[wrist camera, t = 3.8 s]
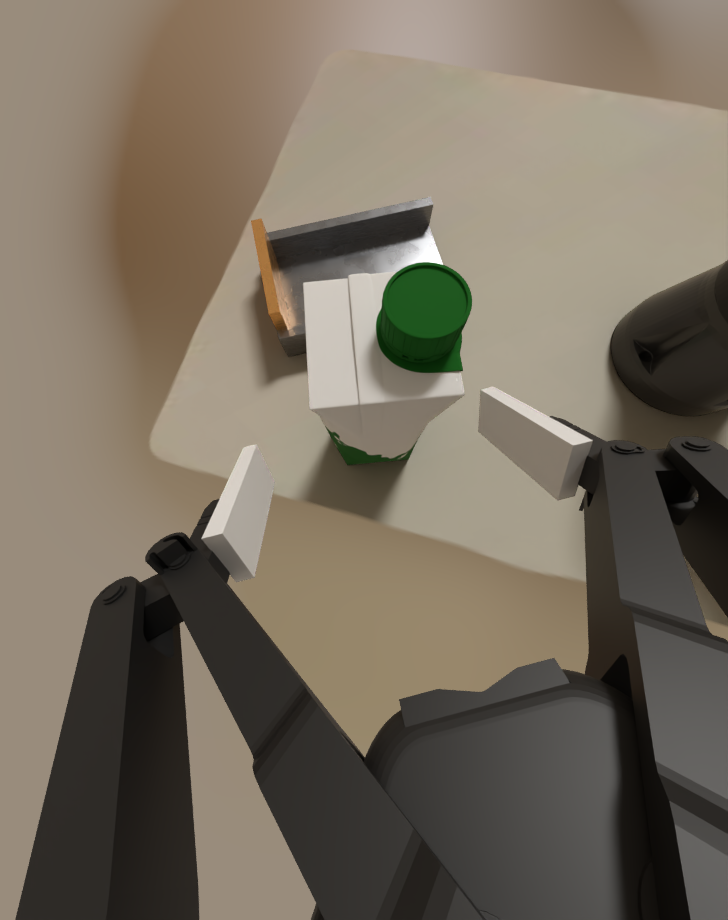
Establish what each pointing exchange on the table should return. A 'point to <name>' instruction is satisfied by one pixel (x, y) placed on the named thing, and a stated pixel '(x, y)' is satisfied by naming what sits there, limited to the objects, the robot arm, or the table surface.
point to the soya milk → (384, 356)
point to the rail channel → (337, 257)
